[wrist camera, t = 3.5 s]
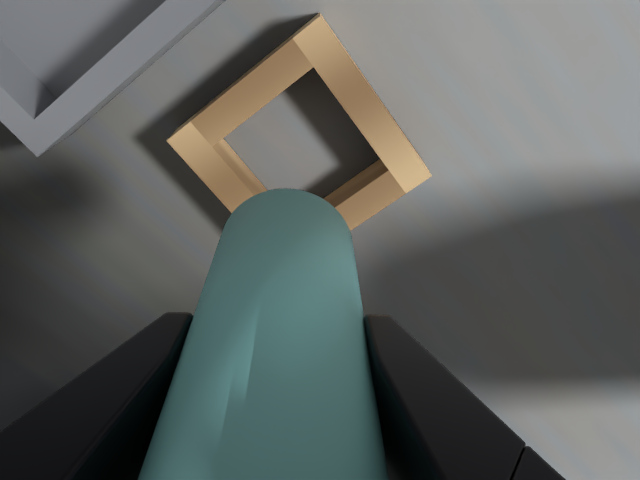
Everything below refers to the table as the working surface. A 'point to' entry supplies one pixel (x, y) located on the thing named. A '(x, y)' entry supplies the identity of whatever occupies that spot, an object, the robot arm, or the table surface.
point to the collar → (269, 81)
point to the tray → (80, 57)
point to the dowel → (274, 356)
